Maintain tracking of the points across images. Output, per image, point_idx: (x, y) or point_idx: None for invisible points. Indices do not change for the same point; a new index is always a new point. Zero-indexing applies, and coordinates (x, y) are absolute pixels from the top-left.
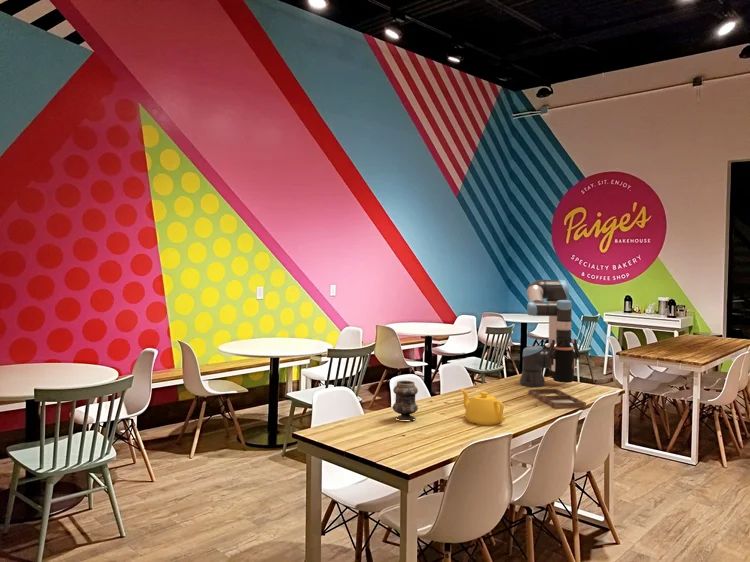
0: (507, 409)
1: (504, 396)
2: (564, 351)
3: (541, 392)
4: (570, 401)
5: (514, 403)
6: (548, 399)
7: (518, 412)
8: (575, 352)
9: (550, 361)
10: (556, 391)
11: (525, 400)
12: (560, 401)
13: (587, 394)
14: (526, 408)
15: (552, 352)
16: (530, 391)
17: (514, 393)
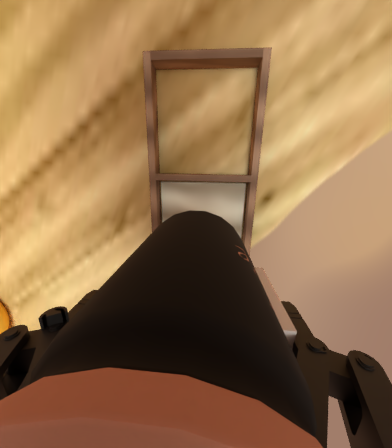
0: (37, 246)
1: (52, 93)
2: None
3: (198, 66)
4: (235, 209)
5: (66, 192)
6: (156, 220)
7: (59, 274)
8: (363, 415)
9: (76, 310)
10: (259, 71)
11: (108, 162)
12: (204, 204)
13: (373, 106)
14: (86, 246)
15: (26, 381)
16: (145, 76)
17: (98, 45)
